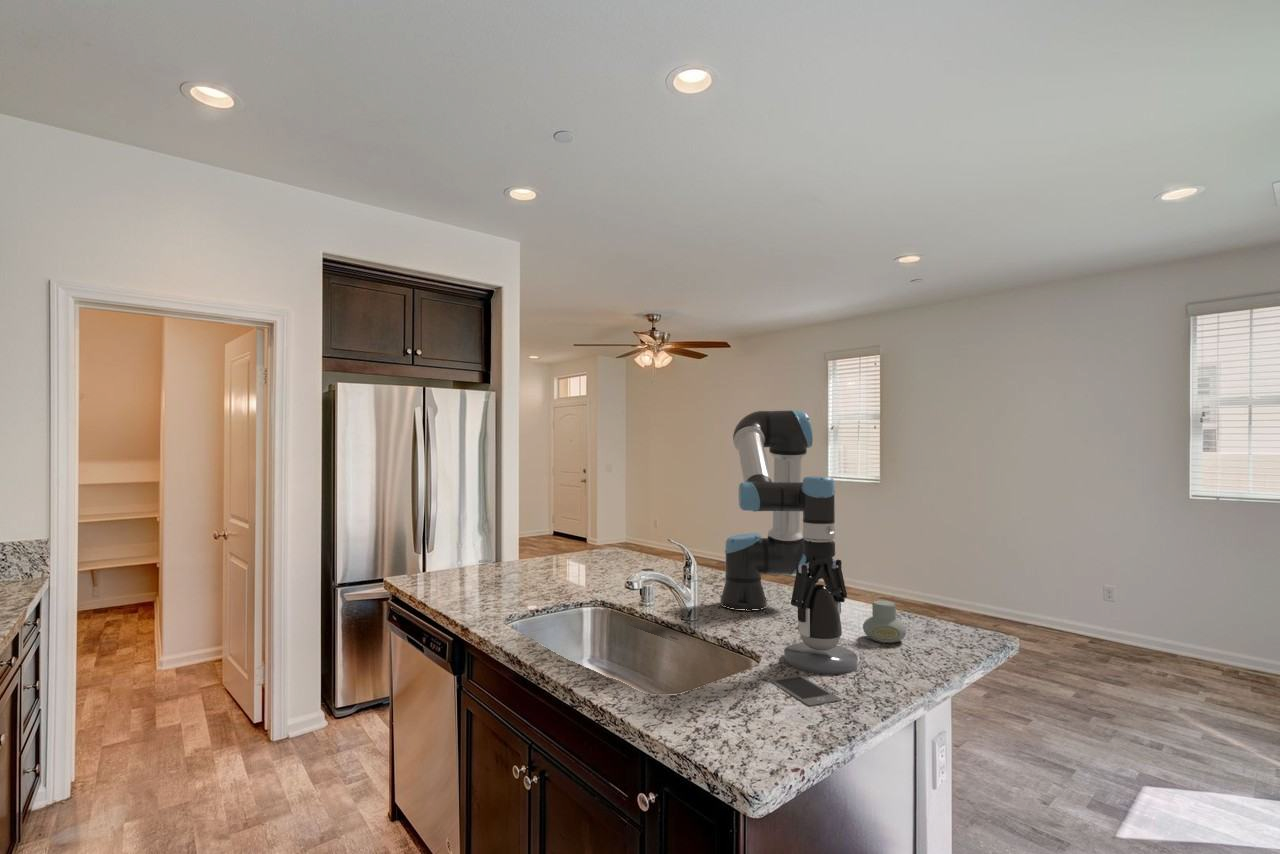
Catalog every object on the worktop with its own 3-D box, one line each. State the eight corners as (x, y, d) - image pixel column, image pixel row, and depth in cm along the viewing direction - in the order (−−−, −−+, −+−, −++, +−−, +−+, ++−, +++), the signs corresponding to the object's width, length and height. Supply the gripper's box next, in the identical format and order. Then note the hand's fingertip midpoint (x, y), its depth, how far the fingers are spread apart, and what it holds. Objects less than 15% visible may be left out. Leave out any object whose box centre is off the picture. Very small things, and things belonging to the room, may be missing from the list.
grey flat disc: (816, 646, 160) (816, 638, 160) (872, 665, 146) (872, 656, 146) (769, 658, 151) (769, 649, 151) (824, 679, 136) (824, 670, 136)
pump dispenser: (848, 654, 143) (847, 589, 144) (804, 654, 143) (803, 588, 144) (835, 640, 153) (834, 579, 154) (794, 640, 154) (793, 579, 154)
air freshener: (863, 642, 163) (863, 605, 163) (862, 634, 171) (861, 597, 171) (908, 646, 160) (907, 608, 160) (904, 637, 167) (904, 600, 168)
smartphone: (767, 682, 136) (767, 679, 136) (798, 677, 139) (798, 674, 139) (808, 708, 122) (808, 705, 122) (842, 702, 125) (842, 699, 125)
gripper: (798, 545, 140) (799, 643, 139) (861, 537, 152) (862, 627, 152) (774, 541, 146) (775, 635, 145) (837, 534, 159) (838, 620, 158)
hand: (819, 631), depth 149 cm, fingers closed on pump dispenser, 10 cm apart
